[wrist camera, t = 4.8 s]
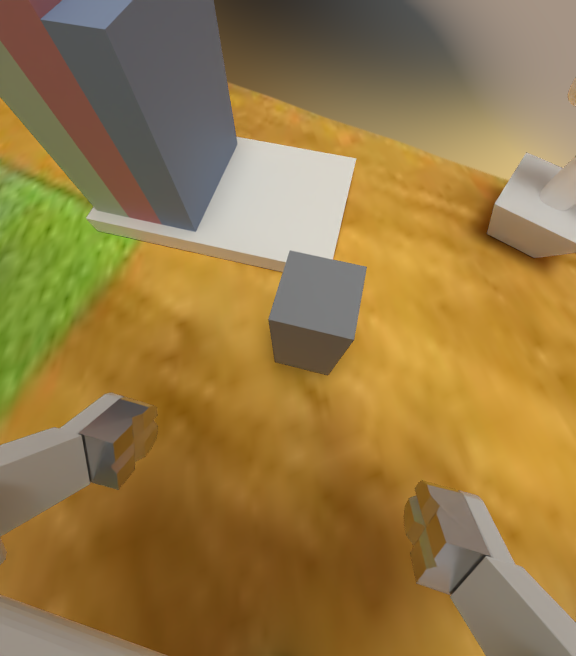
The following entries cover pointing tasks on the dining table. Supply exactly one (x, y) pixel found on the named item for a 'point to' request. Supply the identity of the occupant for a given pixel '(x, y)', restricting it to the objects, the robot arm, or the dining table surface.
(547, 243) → the figurine
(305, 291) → the bookend block
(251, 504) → the dining table surface
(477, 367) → the dining table surface
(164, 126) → the shelf board
